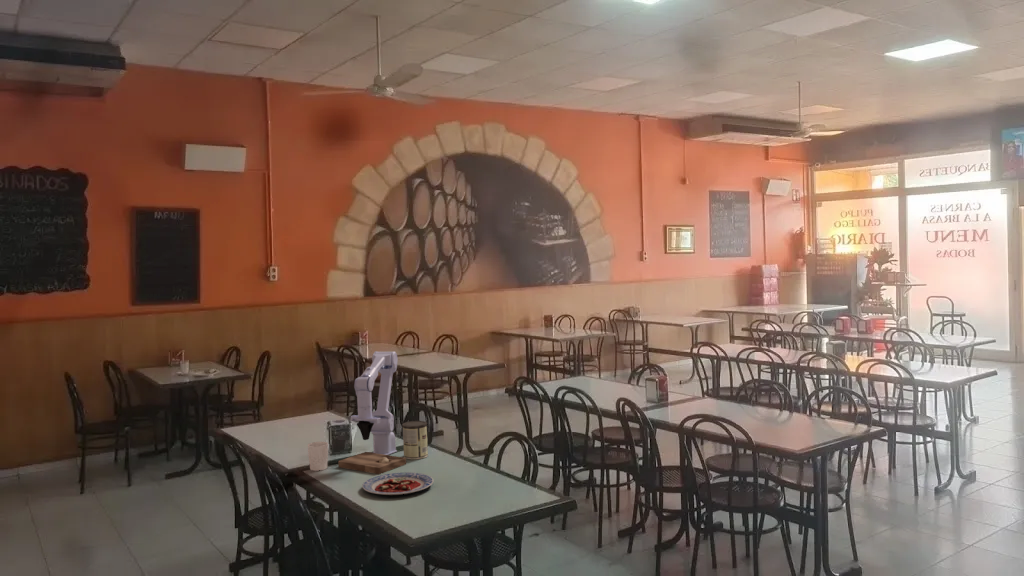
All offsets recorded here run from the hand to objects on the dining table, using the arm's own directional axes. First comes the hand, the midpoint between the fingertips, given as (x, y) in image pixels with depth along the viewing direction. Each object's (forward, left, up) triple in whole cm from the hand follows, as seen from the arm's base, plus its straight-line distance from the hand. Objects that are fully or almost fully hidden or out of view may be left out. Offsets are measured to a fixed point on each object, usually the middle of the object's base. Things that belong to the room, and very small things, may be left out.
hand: (366, 439), depth 309 cm
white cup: (+13, -14, -11) cm, 22 cm away
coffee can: (-19, +10, -11) cm, 24 cm away
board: (0, +3, -10) cm, 11 cm away
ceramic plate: (+18, +32, -11) cm, 38 cm away
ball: (0, +9, -8) cm, 12 cm away
